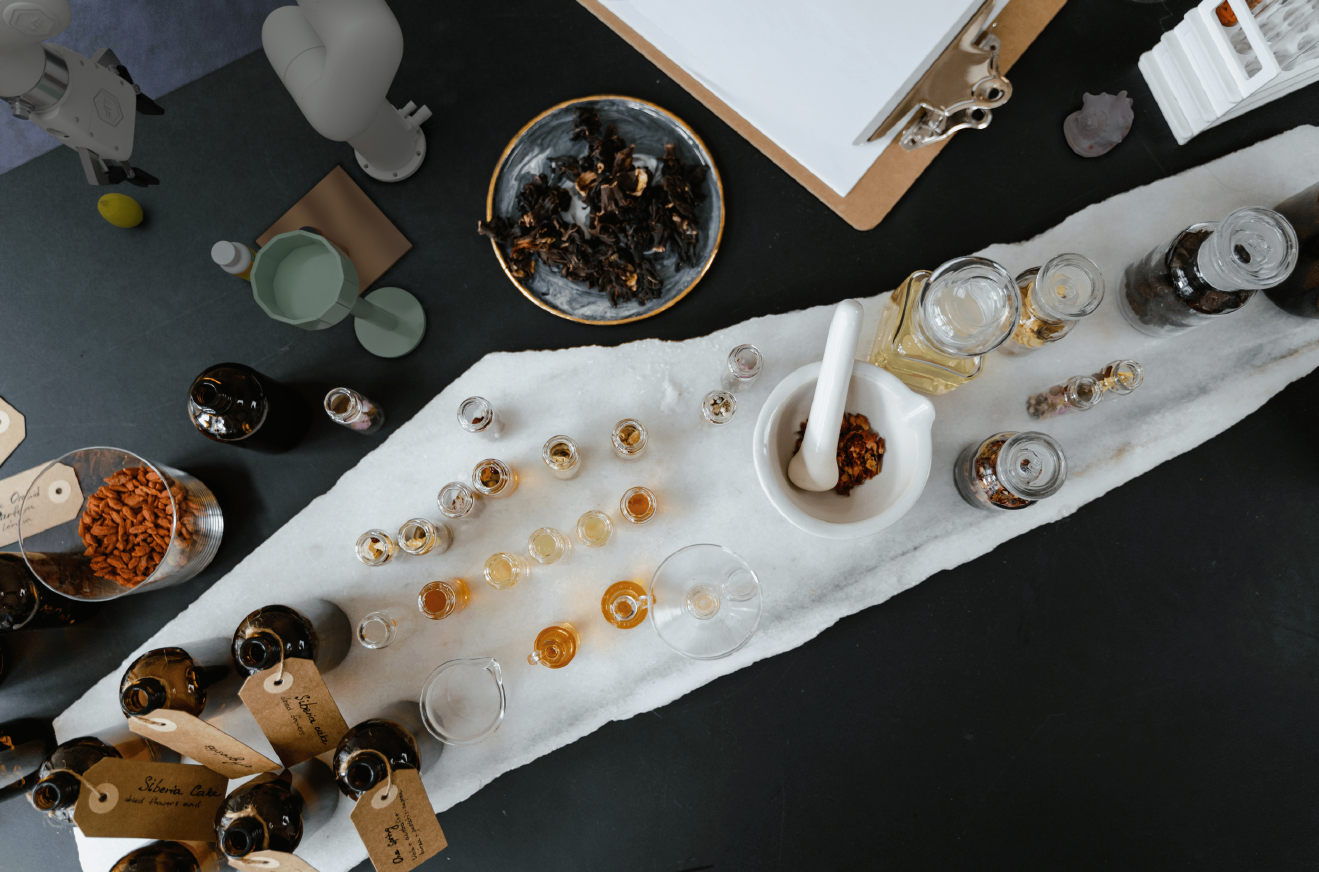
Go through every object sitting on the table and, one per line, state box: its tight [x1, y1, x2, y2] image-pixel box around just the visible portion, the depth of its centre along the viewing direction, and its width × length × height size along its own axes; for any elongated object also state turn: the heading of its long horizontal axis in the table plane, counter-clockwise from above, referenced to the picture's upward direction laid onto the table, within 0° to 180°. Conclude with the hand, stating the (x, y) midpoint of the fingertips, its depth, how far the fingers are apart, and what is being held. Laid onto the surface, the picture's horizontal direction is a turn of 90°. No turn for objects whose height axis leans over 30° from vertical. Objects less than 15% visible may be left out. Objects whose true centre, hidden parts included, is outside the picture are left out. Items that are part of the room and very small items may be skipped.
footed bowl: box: [250, 230, 427, 359], centre depth 102 cm, size 12×12×29 cm
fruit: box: [97, 192, 144, 229], centre depth 115 cm, size 6×6×8 cm
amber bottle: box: [299, 226, 349, 257], centre depth 113 cm, size 5×5×9 cm
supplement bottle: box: [210, 240, 259, 283], centre depth 113 cm, size 5×5×10 cm
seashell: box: [1063, 90, 1135, 158], centre depth 110 cm, size 10×12×9 cm
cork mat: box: [255, 164, 414, 297], centre depth 118 cm, size 20×20×1 cm
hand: (152, 147), depth 90 cm, fingers open, 9 cm apart
